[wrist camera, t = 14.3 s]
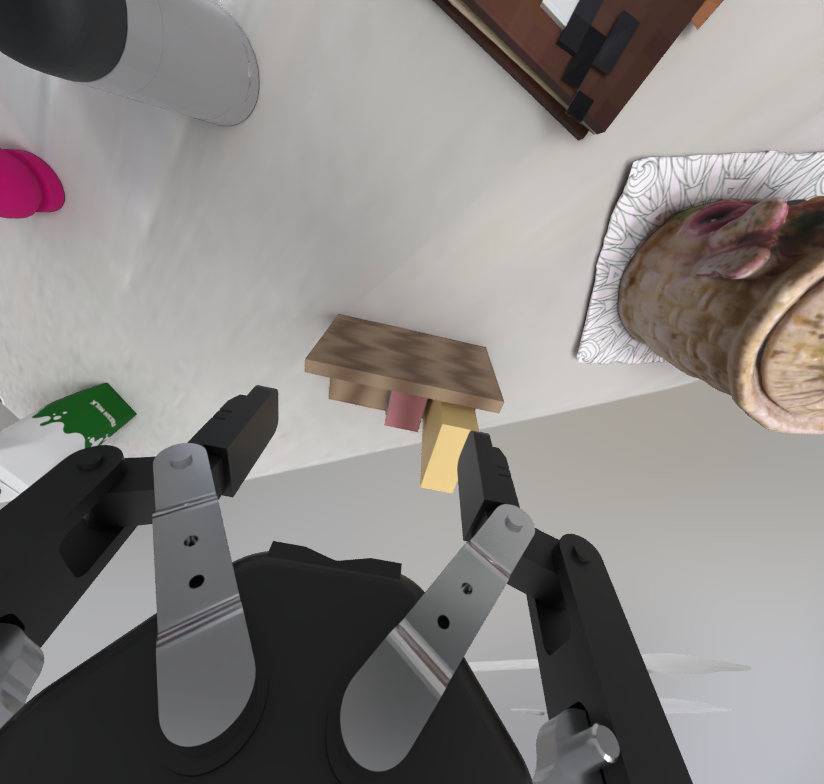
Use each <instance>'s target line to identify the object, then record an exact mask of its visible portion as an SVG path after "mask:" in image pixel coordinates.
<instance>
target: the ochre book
mask: <svg viewBox="0 0 824 784" xmlns="http://www.w3.org/2000/svg"><path fill="white" fill-rule="evenodd" d="M471 430H473V431H478V432H479V429H478V424H477V419H476V414H475V408H471V407H467V406H462V405H457V404H453V403H448V402H443V401H438V400H434V399H429V398H428V399H427V402H426V405H425V409H424V412H423V434H422V460H421V483H420V487H422V488H427V489H433V490H438V491H443V492H447V493H453V490H454V488H455V486H456V483H457V481H458V474H457V465H458V460H459V456H460V454H461V451H462V449H463V446H464V444H465V441H466V439H467V436H468V434H469V432H470V431H471Z"/></svg>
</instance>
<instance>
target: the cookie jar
mask: <svg viewBox="0 0 824 784" xmlns="http://www.w3.org/2000/svg"><path fill="white" fill-rule="evenodd" d="M596 269H597V271H596V278H595V283H594V287H593V291H592V295H591V300H590V304H589V308H588V312H587V316H586V321H585V325H584V329H583V333H582V337H581V341H580V345H579V349H578V352H577V360H578V362H579V363H586V364H592V363H599V364H610V363H613V362H619V363H622V364H635V363H637V364H640V363H650V362H669V363H670V364H672V365H674V366H675V367H676V368H678V369H679V370H681V371H682V372H684V373H686V374H687V375H689V376H692V377H695V378H699V379H701V380H703V381H705V382H706V383H708V384H709V385H710V386H712V387H713V388H715V389H717V390H719V391H721V392H724V393H727V394H729V395H731V396H732V399H733V400H734V402H735V403H736V404H737V405H738V406H739V407H740V408H741V409H742V410H743V411H744V412H745V413H746V414H747V415H748V416H749V417H751V418H753V419H754V420H755V421H757V422H758V423H759V424H760V425H761V426H763V427H764V428H766V429H768V430H772V431H778V432H785V433H792V434H824V152H818V151H817V152H814V153H802V154H795V153H793V154H787V153H786V152H779V151H763V152H759V153H730V154H718V155H694V156H687V157H682V156H676V157H660V156H656V157H647V158H643V159H640V160H637V161H635V162H633V165H632V169H631V172H630V175H629V177H628V180H627V182H626V185H625V188H624V190H623V193H622V195H621V196H620V198H619V200H618V202H617V204H616V206H615V208H614V211H613V213H612V215H611V219H610V222H609V226H608V232H607V234H606V236H605V238H604V246H603V248H602V250H601V253H600V256H599V259H598V262H597V265H596Z"/></svg>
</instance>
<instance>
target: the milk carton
mask: <svg viewBox="0 0 824 784" xmlns="http://www.w3.org/2000/svg"><path fill="white" fill-rule="evenodd" d="M135 415H137V414H136V413H135V412H134V411H133V410H132V409H131V408H130V407H129V406H128V405H127V403H126V402H125V401H124V400H123V399H122V398H121V397H120V396H119V395H118V394H117V393H116V392H115V391H114V390H113V389H112V388H111V386H110V385H109V384H108V383H105V384H102V385H99V386H96V387H93V388H90V389H87V390H84V391H81V392H78V393H75V394H72V395H70V396H67V397H64V398H62V399H59V400H57V401H54V402H52V403H50V404H48V405H46V406H45V407H43V408H41V409H39V410H37V411H36V412H34V413H32V414H30V415H29V416H27V417H25V418H23V419H21V420H20V421H18V422H16V423H14V424H12V425H11V426H9V427H7V428H5V429H4V430H2V431H0V503H2V502H7V501H11V500H13V499H15V498H16V497H17V496H18V495H20V494H21V493H22V492H23V491H25V490H26V489H27V488H28V487H30V486H31V485H32V484H33V483H35V482H36V481H37V480H38V479H40V478H41V477H42V476H43V475H45V474H46V473H47V472H48V471H50V470H51V469H52V468H53V467H55V466H56V465H57V464H58V463H60V462H61V461H62V460H63V459H65V458H66V457H67V456H69V455H71V454H72V453H74V452H76V451H79V450H81V449H84V448H88V447H92V446H99V445H100V444H102V443H103V442H104V441H105V440H107V439H108V438H109V437H110V436H112V435H113V434H114V433H115V432H116V431H118V430H119V429H120V428H121V427H122V426H123V425H125V424H126V423H127V422H128V421H129V420H131V419H132V418H133V417H134V416H135Z"/></svg>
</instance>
